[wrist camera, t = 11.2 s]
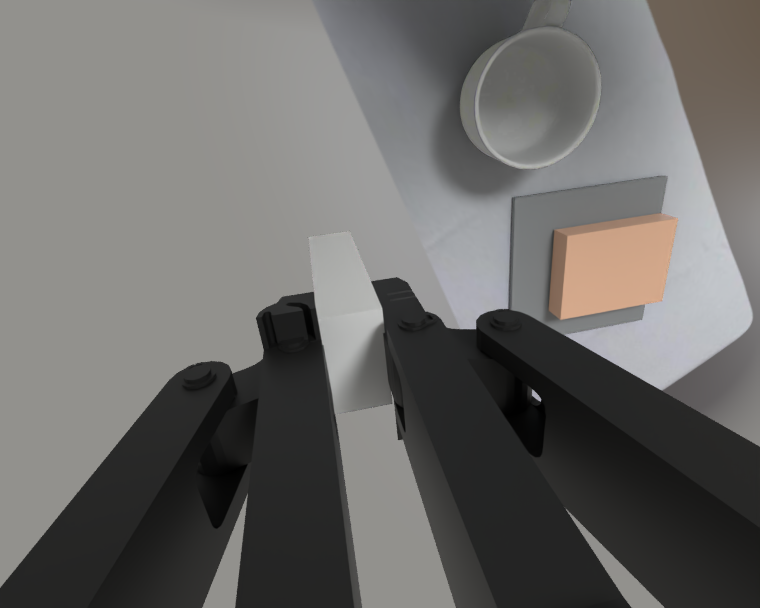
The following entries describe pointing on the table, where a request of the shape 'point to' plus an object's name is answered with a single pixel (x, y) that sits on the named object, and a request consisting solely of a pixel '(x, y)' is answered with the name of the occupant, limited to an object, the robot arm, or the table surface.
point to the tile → (610, 265)
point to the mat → (564, 210)
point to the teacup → (532, 92)
